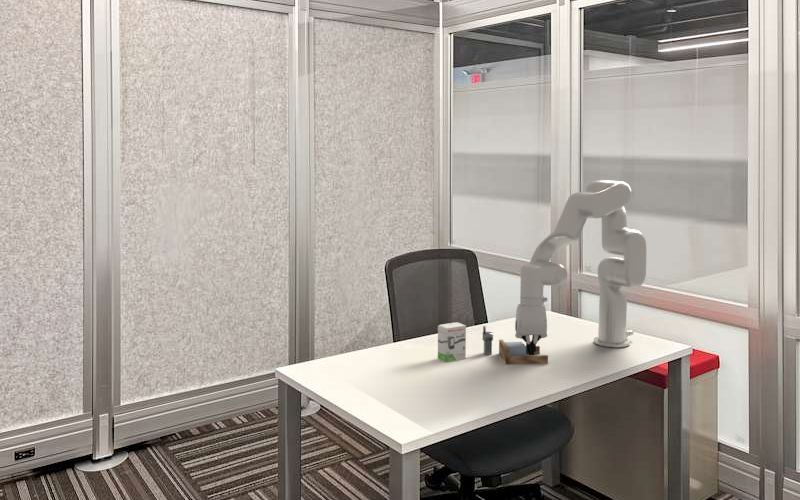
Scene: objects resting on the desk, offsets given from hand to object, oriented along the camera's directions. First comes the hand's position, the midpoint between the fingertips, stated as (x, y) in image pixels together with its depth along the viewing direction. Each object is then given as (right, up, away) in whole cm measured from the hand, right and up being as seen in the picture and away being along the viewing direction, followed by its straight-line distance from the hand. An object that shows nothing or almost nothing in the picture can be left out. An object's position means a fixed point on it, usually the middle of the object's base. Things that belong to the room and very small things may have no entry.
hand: (530, 354), depth 227 cm
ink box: (-27, -2, 0) cm, 27 cm away
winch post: (-14, -1, +6) cm, 15 cm away
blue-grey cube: (-5, -2, 0) cm, 6 cm away
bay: (-3, -1, 0) cm, 3 cm away
